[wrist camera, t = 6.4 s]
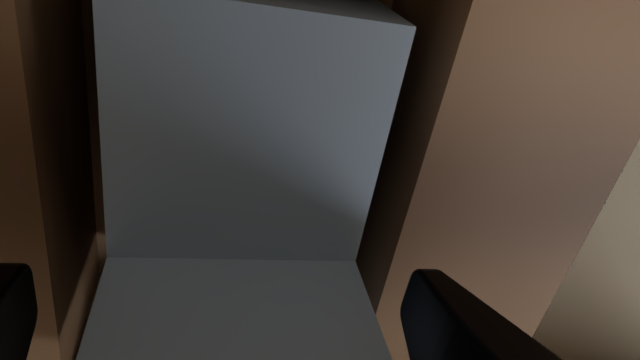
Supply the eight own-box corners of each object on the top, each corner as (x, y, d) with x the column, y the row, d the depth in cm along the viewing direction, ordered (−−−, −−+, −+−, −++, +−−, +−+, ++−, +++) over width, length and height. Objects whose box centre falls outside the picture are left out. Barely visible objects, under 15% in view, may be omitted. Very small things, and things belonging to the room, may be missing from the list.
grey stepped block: (309, 245, 12) (400, 599, 6) (136, 241, 11) (39, 659, 5) (359, -12, 9) (639, 178, 3) (131, -48, 8) (-115, 124, 2)
